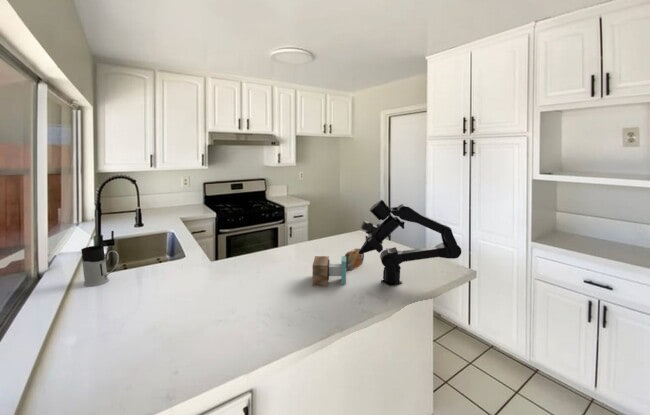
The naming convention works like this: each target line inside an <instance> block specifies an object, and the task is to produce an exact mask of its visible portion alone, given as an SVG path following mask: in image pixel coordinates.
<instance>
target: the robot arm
mask: <svg viewBox="0 0 650 415" xmlns="http://www.w3.org/2000/svg"><path fill="white" fill-rule="evenodd" d="M369 212H370V213H371V214H373V216H374V217H375V218H376V219H378V221H382V222H381V223H378V224H374V223H371V221H367V220H366V219H365V220H364V219H363V222H362V224H361V226H360V229H361V230H363V231H365V234H366V235H365V240H364V243H363V244H362V246H361V247H360V248H359V249H360V250H359V254H363V253H364V254H365V253H369V252H372V251H376V252H378V253H379V258H380V262H381V264H382V266H383V274H382V275H383V276H382V279H381V280H380V282H381V283H383V284H386V285H388V286H391V287H395V286H398V285H400V284H403V281H401V279H400V278H401V269H402V267H401V265H400V264H403V263H405V262H413V261H419V260H427V259H433V258H442V259H452V260H453V259H456V260H457V259H458V258H460V256H461V255H462V248H461V247H460V245H458V243H457V240H456V238H455V236H454V234H453V231H452V228H451V227H449V226H448V225H446V224H444V223H440V222H438V221H436V220H434V219H432V218H429V217H427V216H425V215H422V214H420V213H419V212H418V211H416V210H414V208H412V207H410V206H409V205H407V204H406V203H405V204H404V203H402V204H398V206H395V207H390V206H388V205H387V204H386V202H385V201H384V200H383V199H380V200H379V201H378V202H376V203H375V204H373V205H372V206H371V208H370V209H369ZM406 222H410V223H415V224H418V225H421V226H422V227H425V228H427V229H429V230H432V231H434V232H436V233H439V235H440V236H441V237H440V238H441V240H442V242H440V243H438V244H436V245H435V246H429V247H421V248H415V249H408V250H398V249H397V247H391V248H387V247H386V249H384V246H383V244H384V241H385V240H386V239H387V238H388V239H389V238H390V237H391V234H392V233H393V232H394V231H395V230H397V229H398V228H399V227H400V228H401V229H402V230H404V229H405V223H406Z"/></svg>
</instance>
